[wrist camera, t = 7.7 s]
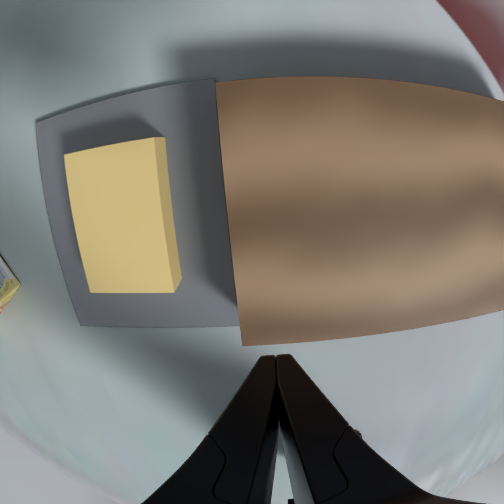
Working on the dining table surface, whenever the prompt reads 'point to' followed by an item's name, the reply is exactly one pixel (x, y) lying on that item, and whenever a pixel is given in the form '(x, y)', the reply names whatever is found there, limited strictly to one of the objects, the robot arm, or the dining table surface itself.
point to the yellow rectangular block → (124, 217)
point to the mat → (182, 198)
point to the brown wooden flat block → (360, 205)
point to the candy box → (6, 284)
